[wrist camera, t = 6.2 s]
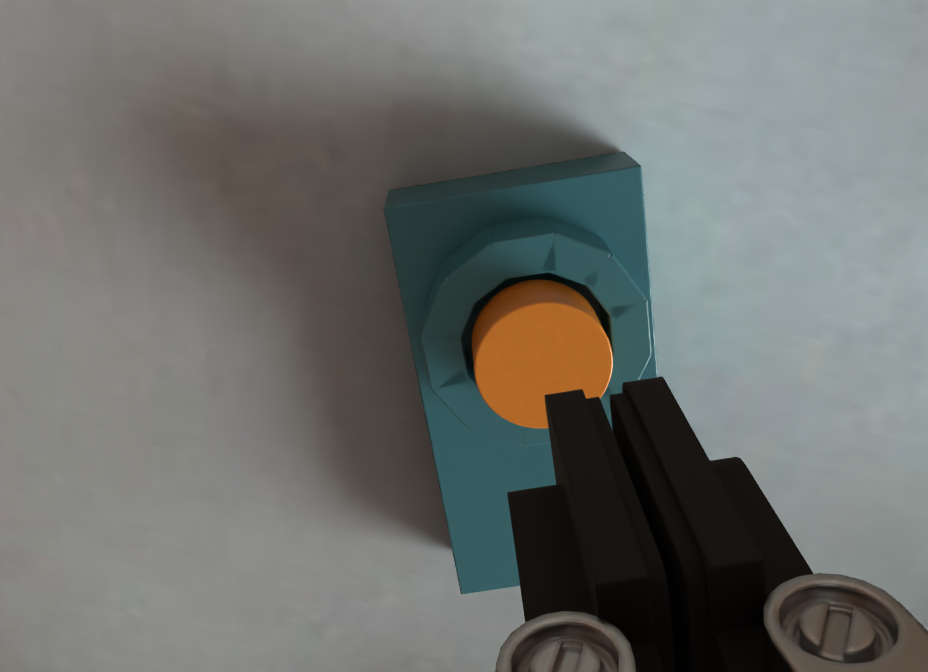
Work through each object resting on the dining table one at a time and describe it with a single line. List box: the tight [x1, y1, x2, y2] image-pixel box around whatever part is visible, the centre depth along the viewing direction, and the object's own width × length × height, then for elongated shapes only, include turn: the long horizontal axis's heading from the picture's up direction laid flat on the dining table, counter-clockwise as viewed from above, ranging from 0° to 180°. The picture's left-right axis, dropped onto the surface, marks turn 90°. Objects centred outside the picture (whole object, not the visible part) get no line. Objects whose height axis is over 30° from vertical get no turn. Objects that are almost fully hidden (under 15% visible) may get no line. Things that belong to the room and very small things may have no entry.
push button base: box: [384, 152, 658, 594], centre depth 29 cm, size 15×8×4 cm, turn 9°
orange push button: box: [471, 279, 613, 428], centre depth 25 cm, size 4×4×2 cm
